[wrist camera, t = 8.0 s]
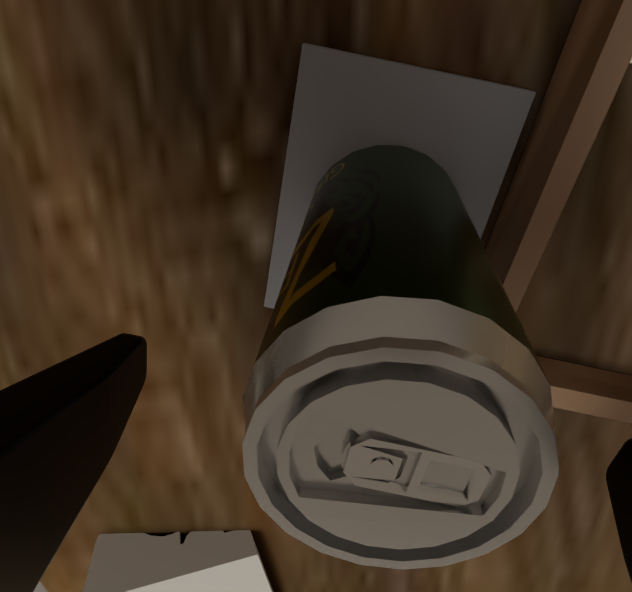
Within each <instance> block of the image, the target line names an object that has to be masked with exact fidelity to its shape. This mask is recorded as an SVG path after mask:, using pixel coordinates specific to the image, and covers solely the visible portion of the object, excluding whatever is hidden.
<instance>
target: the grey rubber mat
mask: <svg viewBox="0 0 632 592" xmlns="http://www.w3.org/2000/svg"><path fill="white" fill-rule="evenodd" d="M535 94H536V92H535V91H533V90H530V89H525V88H520V87H515V86H510V85H506V84H501V83H496V82H491V81H486V80H481V79H477V78H472V77H467V76H462V75H457V74H453V73H448V72H443V71H438V70H433V69H428V68H424V67H419V66H414V65H409V64H404V63H400V62H395V61H390V60H385V59H380V58H375V57H371V56H366V55H361V54H356V53H351V52H346V51H342V50H337V49H332V48H327V47H322V46H318V45H313V44H308V43H303V44H302V51H301V58H300V64H299V71H298V78H297V85H296V92H295V98H294V105H293V112H292V119H291V126H290V132H289V139H288V146H287V153H286V159H285V166H284V173H283V180H282V187H281V193H280V200H279V207H278V214H277V221H276V227H275V234H274V241H273V248H272V255H271V261H270V268H269V275H268V282H267V289H266V295H265V302H264V307H268V308H273V309H274V307H275V304H276V301H277V298H278V295H279V292H280V289H281V286H282V284H283V281H284V278H285V275H286V272H287V269H288V266H289V263H290V261H291V258H292V255H293V252H294V249H295V246H296V243H297V240H298V238H299V235H300V232H301V229H302V226H303V223H304V220H305V217H306V215H307V212H308V209H309V206H310V203H311V200H312V198H313V195H314V192H315V189H316V186H317V184H318V183H319V181H320V180H321V179H322V178H323V176H324V175H325V174H326V173H327V171H328V170H329V169H330V167H331V166H332V165H334V164H335V163H337V162H338V161H340V160H341V159H343V158H344V157H346V156H347V155H349V154H350V153H352V152H353V151H357V150H360V149H364V148H368V147H371V146H375V145H396V146H405V147H408V148H410V149H413V150H416V151H418V152H421V153H423V154H426V155H428V156H429V157H430V158H431V159H432V160H434V161H435V162H436V163H437V164H438V165H439V166H441V167H442V168H443V169H444V170H445V171H446V172H447V174H448V176H449V177H450V179H451V181H452V183H453V184H454V186H455V188H456V190H457V191H458V193H459V196H460V198H461V200H462V202H463V204H464V206H465V208H466V210H467V212H468V214H469V217H470V219H471V221H472V223H473V225H474V227H475V229H476V231H477V233H478V235H479V237H480V239H481V237H482V234H483V231H484V229H485V226H486V224H487V221H488V218H489V216H490V213H491V210H492V208H493V205H494V202H495V200H496V197H497V194H498V192H499V189H500V186H501V184H502V181H503V179H504V176H505V173H506V171H507V168H508V165H509V163H510V160H511V157H512V155H513V152H514V149H515V147H516V144H517V141H518V139H519V136H520V133H521V131H522V128H523V126H524V123H525V120H526V118H527V115H528V112H529V110H530V107H531V104H532V102H533V99H534V96H535Z"/></svg>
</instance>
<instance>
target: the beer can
mask: <svg viewBox="0 0 632 592" xmlns="http://www.w3.org/2000/svg"><path fill="white" fill-rule="evenodd" d="M243 409H244V423H245V436H244V439H243V442H242V447H243V460H244V473H245V478H246V480H247V482H248V484H249V486H250V488H251V490H252V492H253V494H254V496H255V498H256V500H257V502H258V504H259V506H260V507H261V508H262V509H263V510H264V511H265V512H266V513H267V514H268V515H269V516H270V517H271V518H272V519H273V520H274V521H275V522H276V523H277V524H278V525H279V526H280V527H281V528H282V529H283V530H284V531H285V532H286V533H288V534H289V535H291V536H293V537H295V538H296V539H298V540H300V541H302V542H303V543H305V544H307V545H309V546H310V547H312V548H314V549H316V550H318V551H319V552H321V553H324V554H328V555H331V556H334V557H337V558H340V559H344V560H347V561H350V562H353V563H356V564H360V565H367V566H376V567H385V568H394V569H414V568H427V567H439V566H447V565H451V564H454V563H458V562H461V561H464V560H468V559H471V558H475V557H478V556H482V555H485V554H487V553H489V552H491V551H492V550H494V549H496V548H498V547H499V546H501V545H503V544H505V543H506V542H508V541H510V540H512V539H513V538H515V537H517V536H519V535H520V534H522V532H523V531H524V530H525V529H526V528H527V527H528V526H529V525H530V524H531V523H532V522H533V521H534V520H535V518H536V517H537V516H538V515H539V514H540V513H541V512H542V511H543V510H544V509H545V508H546V507H547V504H548V501H549V499H550V496H551V493H552V491H553V488H554V486H555V483H556V480H557V478H558V475H559V465H558V455H557V446H556V436H555V434H554V431H553V428H554V416H553V406H552V396H551V386H550V384H549V382H548V380H547V378H546V376H545V373H544V371H543V369H542V367H541V365H540V363H539V361H538V359H537V357H536V355H535V353H534V350H533V348H532V346H531V344H530V342H529V340H528V338H527V336H526V334H525V332H524V330H523V327H522V325H521V323H520V321H519V319H518V317H517V315H516V313H515V311H514V309H513V307H512V304H511V302H510V300H509V298H508V296H507V294H506V292H505V290H504V288H503V286H502V283H501V281H500V279H499V277H498V275H497V273H496V271H495V269H494V267H493V265H492V263H491V260H490V258H489V256H488V254H487V252H486V250H485V248H484V246H483V244H482V242H481V240H480V237H479V235H478V233H477V231H476V229H475V227H474V225H473V223H472V221H471V219H470V217H469V214H468V212H467V210H466V208H465V206H464V204H463V202H462V200H461V198H460V196H459V193H458V191H457V190H456V188H455V186H454V184H453V183H452V181H451V179H450V177H449V176H448V174H447V172H446V171H445V170H444V169H443V168H442V167H441V166H439V165H438V164H437V163H436V162H435V161H434V160H432V159H431V158H430V157H429V156H428V155H426V154H423V153H421V152H418V151H416V150H413V149H410V148H408V147H405V146H396V145H375V146H371V147H368V148H364V149H360V150H357V151H353V152H352V153H350V154H349V155H347V156H346V157H344V158H343V159H341V160H340V161H338V162H337V163H335V164H334V165H332V166H331V167H330V169H329V170H328V171H327V173H326V174H325V175H324V176H323V178H322V179H321V180H320V181H319V183H318V184H317V186H316V189H315V192H314V195H313V198H312V200H311V203H310V206H309V209H308V212H307V215H306V217H305V220H304V223H303V226H302V229H301V232H300V235H299V238H298V240H297V243H296V246H295V249H294V252H293V255H292V258H291V261H290V263H289V266H288V269H287V272H286V275H285V278H284V281H283V284H282V286H281V289H280V292H279V295H278V298H277V301H276V304H275V307H274V309H273V312H272V315H271V318H270V321H269V324H268V327H267V330H266V332H265V335H264V338H263V341H262V344H261V347H260V350H259V353H258V355H257V358H256V361H255V364H254V367H253V370H252V373H251V376H250V378H249V381H248V384H247V387H246V390H245V393H244V396H243Z"/></svg>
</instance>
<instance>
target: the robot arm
mask: <svg viewBox="0 0 632 592" xmlns="http://www.w3.org/2000/svg"><path fill="white" fill-rule="evenodd" d="M146 372H147V343H146V340H145V339H144V338H143V337H142V336H137V335H132V334H127V333H122V334H119V335H117V336H115V337H113V338H111V339H109V340H106V341H104V342H102V343H100V344H98V345H96V346H94V347H92V348H89V349H87V350H85V351H83V352H81V353H79V354H77V355H75V356H72V357H70V358H68V359H66V360H64V361H62V362H60V363H58V364H55V365H53V366H51V367H49V368H47V369H45V370H43V371H41V372H38V373H36V374H34V375H32V376H30V377H28V378H26V379H24V380H21V381H19V382H17V383H15V384H13V385H11V386H9V387H7V388H4V389H2V390H0V592H33V591H34V589H35V588H36V586H37V584H38V583H39V581H40V579H41V577H42V576H43V574H44V572H45V571H46V569H47V567H48V566H49V564H50V562H51V560H52V559H53V557H54V555H55V554H56V552H57V550H58V548H59V547H60V545H61V543H62V542H63V540H64V538H65V536H66V535H67V533H68V531H69V530H70V528H71V526H72V524H73V523H74V521H75V519H76V518H77V516H78V514H79V512H80V511H81V509H82V507H83V506H84V504H85V502H86V501H87V499H88V497H89V495H90V494H91V492H92V490H93V489H94V487H95V485H96V483H97V482H98V480H99V478H100V477H101V475H102V473H103V471H104V470H105V468H106V466H107V464H108V463H109V461H110V459H111V457H112V455H113V453H114V451H115V449H116V446H117V444H118V442H119V440H120V437H121V435H122V433H123V431H124V428H125V426H126V424H127V422H128V419H129V417H130V415H131V412H132V410H133V408H134V406H135V403H136V401H137V399H138V396H139V394H140V392H141V390H142V387H143V385H144V382H145V379H146ZM606 481H607V486H608V490H609V495H610V499H611V503H612V508H613V512H614V517H615V521H616V526H617V530H618V534H619V539H620V543H621V548H622V552H623V555H624V559H625V563H626V566H627V570H628V573H629V576H630V579H631V582H632V438H631V439H629V440H627V441H626V442H625V443H624V445H623V446H622V448H621V449H620V450H619V452H618V453H617V455H616V456H615V458H614V459H613V461H612V462H611V463H610V465H609V467H608V469H607V473H606Z"/></svg>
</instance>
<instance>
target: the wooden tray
mask: <svg viewBox="0 0 632 592" xmlns="http://www.w3.org/2000/svg"><path fill="white" fill-rule="evenodd" d="M631 59H632V0H582V1H581V3H580V6H579V8H578V11H577V14H576V16H575V19H574V21H573V24H572V27H571V29H570V32H569V34H568V37H567V39H566V42H565V45H564V47H563V50H562V52H561V55H560V58H559V60H558V63H557V65H556V68H555V70H554V73H553V76H552V78H551V81H550V83H549V86H548V89H547V91H546V94H545V96H544V99H543V101H542V104H541V107H540V109H539V112H538V114H537V117H536V120H535V122H534V125H533V127H532V130H531V132H530V135H529V138H528V140H527V143H526V145H525V148H524V151H523V153H522V156H521V158H520V161H519V163H518V166H517V169H516V171H515V174H514V176H513V179H512V182H511V184H510V187H509V189H508V192H507V194H506V197H505V200H504V202H503V205H502V207H501V210H500V213H499V215H498V218H497V220H496V223H495V225H494V228H493V231H492V233H491V236H490V238H489V241H488V244H487V246H486V249H485V250H486V252H487V254H488V256H489V258H490V260H491V263H492V265H493V267H494V269H495V271H496V273H497V275H498V277H499V279H500V281H501V283H502V286H503V288H504V290H505V292H506V294H507V296H508V298H509V300H510V302H511V304H512V307H513V309H514V311H515V313H516V312H517V310H518V307H519V305H520V303H521V301H522V299H523V296H524V294H525V292H526V290H527V288H528V285H529V283H530V281H531V279H532V277H533V274H534V272H535V270H536V268H537V265H538V263H539V261H540V259H541V257H542V254H543V252H544V250H545V248H546V246H547V243H548V241H549V239H550V237H551V235H552V232H553V230H554V228H555V226H556V224H557V221H558V219H559V217H560V215H561V213H562V210H563V208H564V206H565V204H566V202H567V199H568V197H569V195H570V193H571V191H572V188H573V186H574V184H575V182H576V180H577V177H578V175H579V173H580V171H581V169H582V166H583V164H584V162H585V160H586V158H587V155H588V153H589V151H590V149H591V147H592V144H593V142H594V140H595V138H596V136H597V133H598V131H599V129H600V127H601V125H602V122H603V120H604V118H605V116H606V114H607V111H608V109H609V107H610V105H611V103H612V100H613V98H614V96H615V94H616V92H617V89H618V87H619V85H620V83H621V81H622V78H623V76H624V74H625V72H626V70H627V67H628V65H629V63H630V61H631ZM536 357H537V359H538V361H539V363H540V365H541V367H542V369H543V371H544V373H545V376H546V378H547V380H548V382H549V384H550V386H551V396H552V406H553V407H555V408H560V409H565V410H569V411H574V412H579V413H584V414H589V415H593V416H598V417H603V418H608V419H612V420H617V421H622V422H627V423H632V376H631V375H626V374H622V373H617V372H612V371H607V370H602V369H598V368H593V367H588V366H583V365H578V364H574V363H569V362H564V361H559V360H554V359H550V358H545V357H540V356H536Z"/></svg>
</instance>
